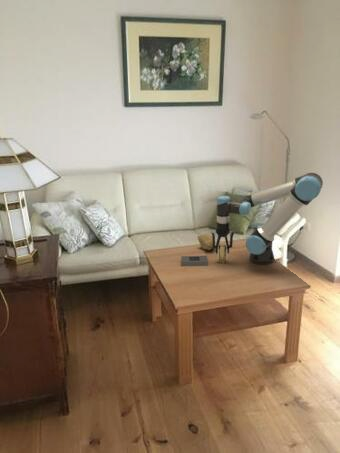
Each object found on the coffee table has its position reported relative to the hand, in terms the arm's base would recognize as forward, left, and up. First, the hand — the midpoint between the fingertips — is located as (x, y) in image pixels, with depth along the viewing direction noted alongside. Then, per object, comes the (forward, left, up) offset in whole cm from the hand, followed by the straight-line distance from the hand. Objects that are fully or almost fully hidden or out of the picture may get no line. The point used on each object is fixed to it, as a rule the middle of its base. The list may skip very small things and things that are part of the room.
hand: (222, 258), depth 223 cm
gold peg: (0, 0, -3) cm, 3 cm away
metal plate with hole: (+17, 0, -3) cm, 17 cm away
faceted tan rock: (+7, -21, -3) cm, 22 cm away
